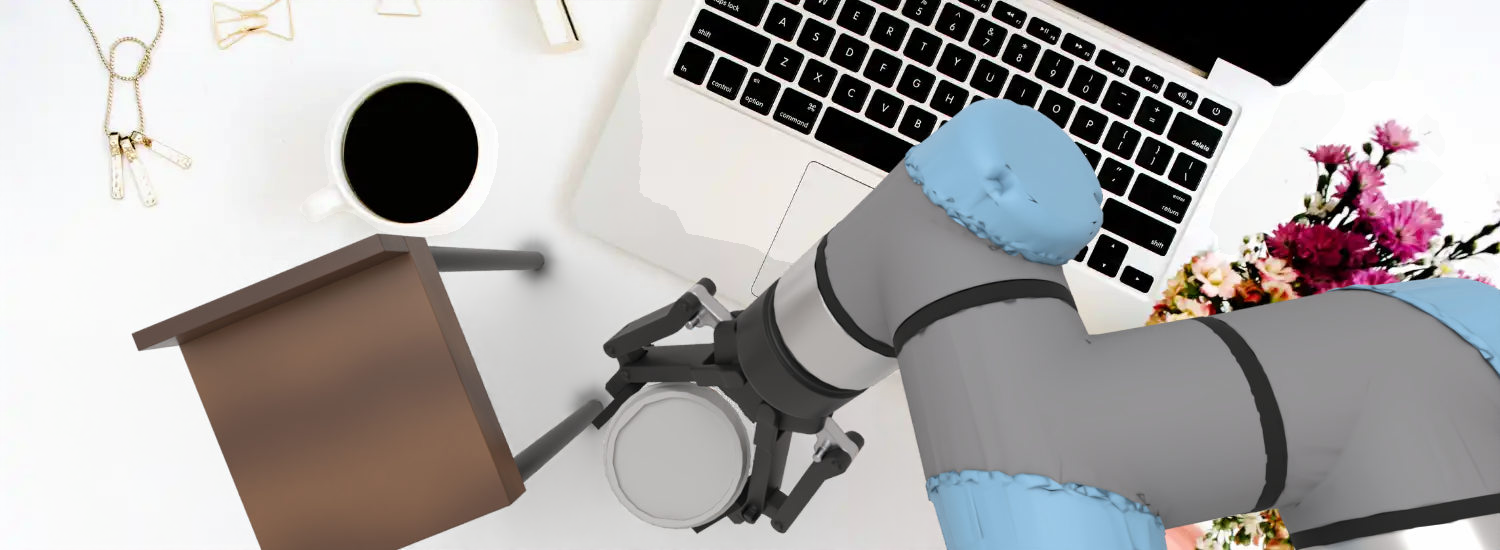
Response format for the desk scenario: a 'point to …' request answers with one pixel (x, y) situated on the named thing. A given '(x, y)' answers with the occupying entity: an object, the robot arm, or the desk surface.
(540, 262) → the shelf legs
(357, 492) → the desk shelf
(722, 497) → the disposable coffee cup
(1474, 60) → the desk surface
